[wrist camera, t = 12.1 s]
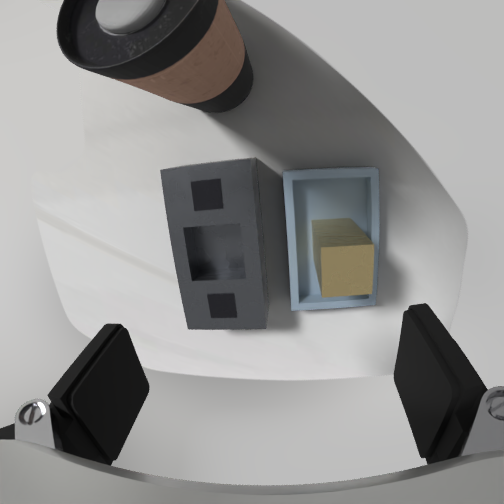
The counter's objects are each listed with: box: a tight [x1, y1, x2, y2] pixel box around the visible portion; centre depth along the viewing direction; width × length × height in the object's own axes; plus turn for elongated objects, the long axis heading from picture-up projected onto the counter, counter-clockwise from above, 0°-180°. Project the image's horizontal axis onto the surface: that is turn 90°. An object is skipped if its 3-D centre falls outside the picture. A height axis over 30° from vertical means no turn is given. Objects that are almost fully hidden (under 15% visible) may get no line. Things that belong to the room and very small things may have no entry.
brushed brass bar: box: [311, 218, 374, 298], centre depth 26 cm, size 4×4×9 cm
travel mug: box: [57, 0, 253, 113], centre depth 18 cm, size 8×8×20 cm
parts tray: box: [282, 167, 379, 311], centre depth 30 cm, size 14×9×2 cm, turn 6°
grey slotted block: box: [160, 158, 269, 330], centre depth 30 cm, size 16×8×5 cm, turn 5°
